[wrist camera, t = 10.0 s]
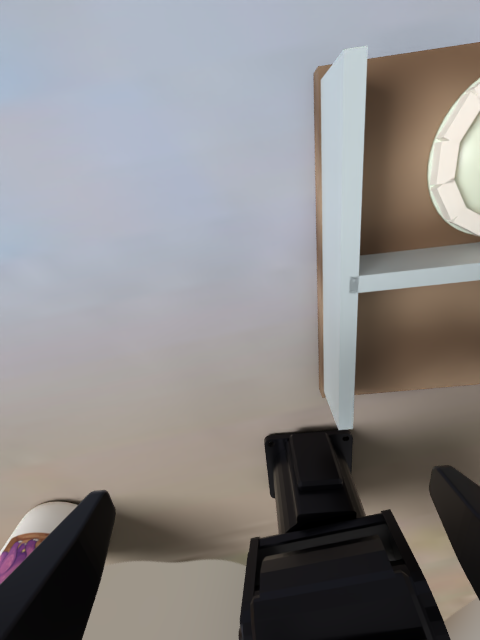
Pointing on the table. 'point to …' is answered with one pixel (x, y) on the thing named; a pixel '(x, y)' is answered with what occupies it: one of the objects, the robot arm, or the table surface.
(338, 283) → the board
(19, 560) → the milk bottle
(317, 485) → the robot arm
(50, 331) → the table surface
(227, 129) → the table surface
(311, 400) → the table surface
